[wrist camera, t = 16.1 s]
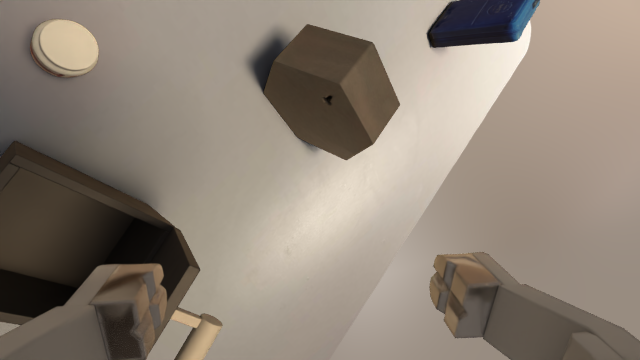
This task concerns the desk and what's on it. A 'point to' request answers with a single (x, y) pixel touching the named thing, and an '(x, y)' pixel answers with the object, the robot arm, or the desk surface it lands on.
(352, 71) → the brown hexagonal block
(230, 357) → the desk surface
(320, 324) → the desk surface
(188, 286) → the brown box lid
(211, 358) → the desk surface
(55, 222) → the dark wooden chest
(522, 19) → the blue hard case
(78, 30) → the pill bottle
